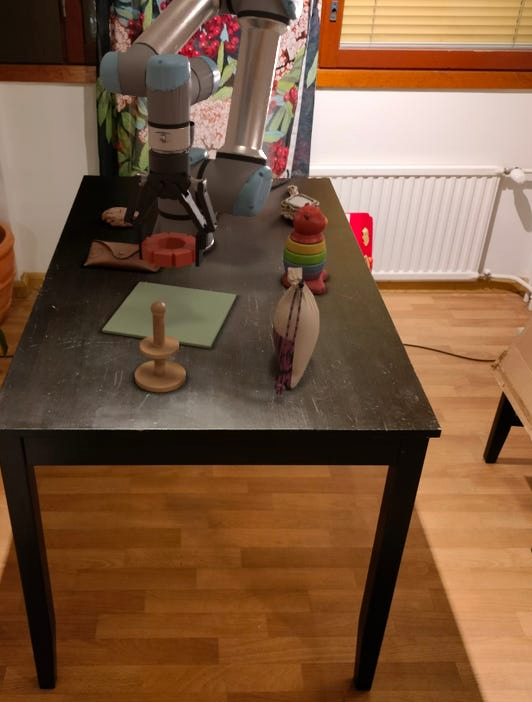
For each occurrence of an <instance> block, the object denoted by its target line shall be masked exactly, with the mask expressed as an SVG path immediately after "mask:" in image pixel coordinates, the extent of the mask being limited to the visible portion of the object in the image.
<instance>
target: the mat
mask: <svg viewBox="0 0 532 702" xmlns="http://www.w3.org/2000/svg"><path fill="white" fill-rule="evenodd" d="M236 298H237V294H235V293H229V292H228V293H227V292H220V291H215V290H214V291H213V290H207V289H206V290H205V289H198V288H190V287H184V286H175V285H169V284H168V285H167V284H160V283H154V282H145V281H139V282H138V283H137V284H136V286H135V287H134V288H133V289H132V291H131V292H130V293H129V294H128V296H127V297H126V298H125V299H124V300H123V302H122V303H121V305H119V307H118V308H117V309H116V311H115V312H114V314H113V315H112V316H111V318H110V319H109V320H108V321H107V322H106V324H105V325H104V327H102V329H101V332H102V333H104V334H112V335H119V336H124V337H131V338H138V339H145V338H146V337H149V336H152V335H153V316H152V313H151V310H150V309H151V305H152V304H153V303H154V302H156V301H160V302H162V303H164V304H165V306H166V312H165V314H164V321H165V335H168V336H171V337H173V338H175V339H176V340H177V341H178V343H179V345H184V346H189V347H198V348H204V349H211V348H212V345H213V344H214V342H215V340H216V338H217V335H218V333H219V332H220V330H221V328H222V326H223V324H224V322H225V320H226V318H227V315H228V314H229V312H230V310H231V308H232V306H233V304H234V302H235V300H236Z"/></svg>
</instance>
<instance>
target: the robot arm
mask: <svg viewBox="0 0 532 702" xmlns="http://www.w3.org/2000/svg"><path fill="white" fill-rule="evenodd" d="M303 7H304V0H171V1H170V3H168V5H167V6H166V7H165V8H164V9H163V10H162V11H161V12H160V14H158V15H157V17H156V18H155V19H154V20H153V21H152V22H151V23H150V24H149V25H148V27H147V28H146V29H144V31H143V32H142V33H141V34H140V35H139V36H138V37H137V38H136V39H135V40H134V41H133V43H132V44H131V45H130V46H129V47H128V48H127V49H126V50H125V51H121V50H117V51H109V52H106V53H105V54H104V55H103V57H102V59H101V61H100V65H99V78H100V81H101V85H102V87H103V89H105V91H107V92H109V93H111V94H117V95H121V96H124V97H125V96H130V97H137V98H138V97H139V98H146V107H147V138H148V139H147V142H148V143H147V144H148V147H149V149H148V173H143V172H142V171H137V172H136V173H135V174H134V175H133V176H132V190H131V193H130V196H129V200H128V202H127V206H126V208H127V209H126V212H125V216H124V222H125V223H130V224H132V225H133V226H132V227H133V241H134V242H135V243H138V245H139V259H141V260H143V258H142V242H143V241H144V240H145V239H146V238H147V237H148V235H147V234H148V231H147V223H144V220H145V218H146V217H147V215H148V214H149V212H150V211H151V209H152V208H153V206H154V204H155V203H156V202H157V218H156V221H155V224H154V227H153V229H152V230H153V231H152V234H151V235H155V234H160V233H165V232H166V233H167V234H170V233H171V232H174V233H183V234H187V236H190V235H191V236H193V237H194V238H195V249H196V261H195V262H194V264H195V267H197V268H200V267H201V265H202V264H203V262H204V254H206V253H209V252H210V251H211V250H212V249H213V247H214V233H215V232H216V230H217V229H218V227H219V224H218V221H217V216H218V214H219V213H220V214H226V215H231V216H234V217H246V218H253V217H256V216H257V215H258V214H260V213H261V211H262V210H263V209H264V207H265V206H266V203H267V202H268V199H269V196H270V193H271V190H272V189H275V188H277V187H278V186H279V187H280V186H281V185H283V184H285V183H287V182H288V181H289V179H290V176H291V175H290V173H291V172H290V170H289V168H287V169H286V178H284V180H282V181H280V182H277V183H275V184H274V185H273V176H274V175H273V170H272V169H271V167H269V166H268V165H267V161H268V157H267V156H266V154H265V153H264V152H263V145H264V139H265V133H266V127H267V121H268V114H269V109H270V104H271V97H272V92H273V85H274V79H275V73H276V68H277V63H278V56H279V49H280V44H281V38H282V37H283V36H284V35H285V34H286V33H288V32H289V31H290V25H291V21H296V20H298V19H299V18H300V17H301V13H302V11H303ZM221 15H232V16H236V24H237V26H238V27H239V28H240V30H241V32H240V33H241V34H240V41H239V47H238V51H237V52H238V53H237V59H236V66H235V71H234V72H235V73H234V78H233V86H232V92H231V98H230V105H229V111H228V118H227V124H226V130H225V137H224V142H223V144H222V146H220V147H219V148H218V149H216V152H215V156H214V157H215V158H209V157H208V155H209V154H208V151H207V150H206V149H205V148H202V147H195V146H194V147H193V146H192V147H189V146H190V121H191V107H192V106H195V105H196V104H199V103H201V102H203V101H206V100H208V99H210V97H211V96H213V95H214V94H216V92H217V91H218V89H219V87H220V84H221V78H222V77H221V72H220V69H219V67H218V65H217V63H216V62H215V61H214V60H213V59H211V58H210V57H208V56H205V55H198V56H197V55H194V56H192V57H190V58H188V56H186V55H183V54H179V52H180V51H181V50H182V49H183V48H184V46H185V45H186V44H187V43H188V42H189V40H191V38H192V37H193V36H194V35H195V33H196V32H198V30H199V29H200V28H201V26H202V25H203V24H205V23H208V22H209V23H210V21H212V20H213V19H215V18H216V16H221ZM188 147H189V148H188ZM147 183H148V184H149V186H150V187H151V189H152V192H151V193H150V194H149V196H148V198H147V200H146V201H145V202H144V204H143V206H141V207H142V208H141V209H140V211H138V215H137V217H136V216H134V214H135V211H136V212H137V207H138V204H139V202H140V201H139V200H140V198H141V194H142V191H143V188H144V186H145V185H146V184H147ZM171 250H173V249H171Z"/></svg>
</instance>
